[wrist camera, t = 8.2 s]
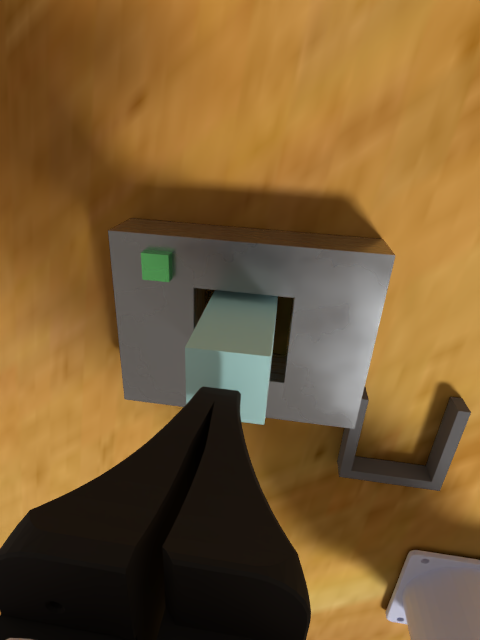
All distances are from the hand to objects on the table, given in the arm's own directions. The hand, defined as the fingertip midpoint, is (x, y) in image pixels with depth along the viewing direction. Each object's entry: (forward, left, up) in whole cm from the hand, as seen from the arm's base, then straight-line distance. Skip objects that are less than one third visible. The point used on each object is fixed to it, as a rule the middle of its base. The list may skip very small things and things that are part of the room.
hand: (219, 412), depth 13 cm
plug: (0, 0, -8) cm, 8 cm away
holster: (-9, +7, -8) cm, 14 cm away
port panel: (0, 0, -8) cm, 8 cm away
